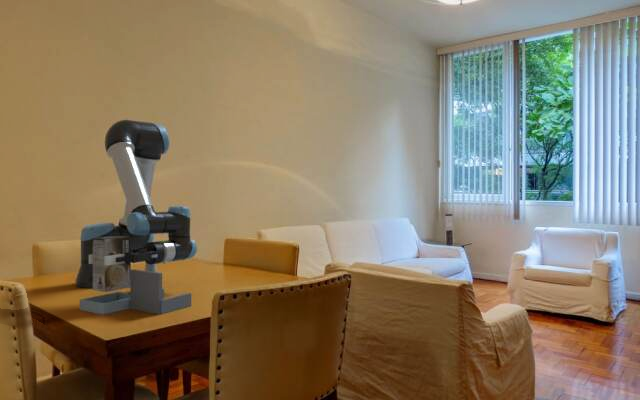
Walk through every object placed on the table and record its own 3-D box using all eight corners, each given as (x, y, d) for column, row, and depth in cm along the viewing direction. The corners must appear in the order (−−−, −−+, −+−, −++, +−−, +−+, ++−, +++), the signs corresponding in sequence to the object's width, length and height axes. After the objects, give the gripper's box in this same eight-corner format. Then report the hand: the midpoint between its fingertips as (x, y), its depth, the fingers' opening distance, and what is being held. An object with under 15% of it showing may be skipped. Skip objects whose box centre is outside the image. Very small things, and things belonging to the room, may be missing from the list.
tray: (79, 309, 141) (79, 299, 141) (118, 301, 153) (118, 291, 153) (103, 314, 136) (103, 304, 135) (141, 305, 147) (141, 295, 147)
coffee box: (118, 285, 149) (119, 235, 149) (131, 287, 146) (131, 236, 146) (91, 290, 142) (91, 237, 142) (104, 292, 138) (104, 238, 138)
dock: (129, 308, 143) (129, 269, 143) (161, 300, 154) (161, 264, 154) (159, 314, 136) (160, 273, 136) (191, 305, 147) (191, 268, 147)
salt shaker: (161, 289, 172) (162, 254, 172) (147, 291, 168) (147, 255, 167) (154, 287, 176) (154, 253, 176) (139, 289, 172) (139, 254, 171)
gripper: (178, 265, 155) (118, 275, 135) (138, 261, 164) (77, 270, 144) (178, 242, 155) (118, 249, 135) (138, 240, 164) (77, 245, 144)
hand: (97, 260), depth 139 cm, fingers closed on coffee box, 7 cm apart
